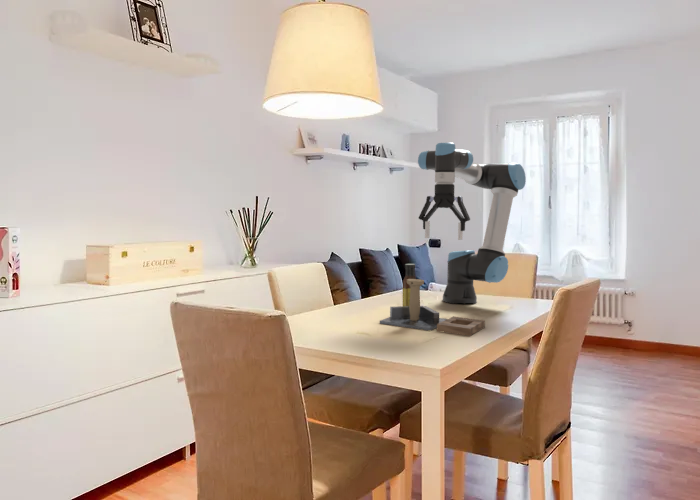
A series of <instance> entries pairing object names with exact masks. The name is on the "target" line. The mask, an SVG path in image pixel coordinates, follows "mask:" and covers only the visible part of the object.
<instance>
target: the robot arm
mask: <svg viewBox="0 0 700 500" xmlns="http://www.w3.org/2000/svg"><path fill="white" fill-rule="evenodd" d="M417 165H418V167H419V169H421V170H426V171H428V170H430V171H431V170H432V171H434V183H436V184H435V185H434V196H432V195H427V196H426V201H425V203H424V205H423V208H422V209H421V212H420V213H419V216H418V220H420V221H422V229H423V230H424V238H425V239H429V238H430V231H431V229H430V227H431V224H430V221H429V219H430V218H431V217H432V216H433V215H434V214H435V212H436V211H437V210H438V209H439V208H440V209H442V208H443V209H450V210H451V211H452V213H453V214H454V215H455V217H456V218H457V220H458V221H460V222H458V226H457V231H458V232H457V240H458V241H461V240H463V235H464V233H463V232H465V230H466V222H469V221H471V217H470V215H469V213H468V211H467V209H466V207H465V204H464V201H463V196H461V195H459V196H455V184H454V183H455V181H456V179H455V178H458V179H460V180H463V181H464V182H465V183H466V184H469V185H471V186H475V187H477V188H482V189H487V190H490V191H491V193H492V194H493V195H492V200H491V204H490V209H489V214H488V219H487V223H486V228H485V233H484V239H483V242H482V245H481V246H480V247H478V250H477V253H475V251H476V250H474V249H473V250H472V249H471V250H470V249H469V250H457V251H456V250H454V251H451V252H449V253H448V255H447V274H446V275H447V278H446V279H447V282H446V287H445V289H444V292H443V294H442V302H444V301H445V302H444V303H448V302H450V303H449V304H454V303H473V304H476V303H477V302H478V301H477V299H478V298H477V294H476V291H475V290H476V289H475V287H474V281H477V282H478V281H479V282H486V283H489V284H490V283H496V284H497V283H500V282H501V281H503V280H504V279H505V278H506V275H507V273H508V270H509V260H508V258H507V257H506V253H505V252H504V250H503V249H504V245H505V240H506V239H505V238H506V234H507V229H508V224H509V219H510V215H511V210H512V204H513V201H514V200H513V199H514V198H515V197H517V196H518V193H519V191H521V190H523V189H524V188H525V185H526V172H525V170H524V167H523V166H522V164H521V163H518V162H502V163H501V162H498V163H495V162H494V163H478V162H477V163H476V162H474V156H473V154H472V152H471V151H469V150H468V149H467V150H466V149H464V148H463V149H457V148H456V144H455V143H454V142H437V143H436V145H435V150H426V151H422V152H420V153H419V155H418V158H417ZM432 202H434V204H433V205H432V207H431V208H430V206H431V203H432ZM454 202H456V203H457V206H458V207H459V210H458V208H457V207H456V205H455V204H454ZM429 208H430V209H429ZM428 210H429V211H428ZM460 211H461V212H460Z"/></svg>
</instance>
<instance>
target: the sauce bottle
mask: <svg viewBox="0 0 700 500" xmlns="http://www.w3.org/2000/svg"><path fill="white" fill-rule="evenodd" d="M404 268H405V274H404V275H405V276H404V278H403V280H402V306H409V305H410V291H411V287H410V285H409V284H407V279H417V278H416V264H415V263H405V264H404Z"/></svg>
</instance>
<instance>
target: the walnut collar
mask: <svg viewBox="0 0 700 500" xmlns="http://www.w3.org/2000/svg"><path fill="white" fill-rule="evenodd" d="M446 319H447V320H445V321H443V322H440V323H438V324H437V328H436V331H437V332H440V331H444V332H443V333H447V332H448V333H447V334H454V335H462V336H469V337H470V336H472V335H474V334H476V333H477V332H479V331H481V330H482V329H485V327H486V320H484V319H477V318H476V319H475V318H468V317H462V316H461V317H460V316H452V317H449V318H446Z"/></svg>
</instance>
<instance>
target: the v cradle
mask: <svg viewBox="0 0 700 500" xmlns="http://www.w3.org/2000/svg"><path fill="white" fill-rule="evenodd" d="M389 309H390V310H389V316H388V317H387V318H383V319H381V320H379V324H381V325H387V326H395V327H403V328H409V329H415V330H421V329H423V331H428V330H431V331H433V330H435V329H437V324H438V323H440V322H443V321H445V320H447V319H448V318H443V317H440V312H438V311H437V310H434V309H433V308H430V307H429V306H427V305H425V306H424V305H420V314H419V320H417V321H412V320H410V311H409V306H403V305H402V306H401V305H400V306H390V307H389ZM434 328H435V329H434ZM432 329H433V330H432Z"/></svg>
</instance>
